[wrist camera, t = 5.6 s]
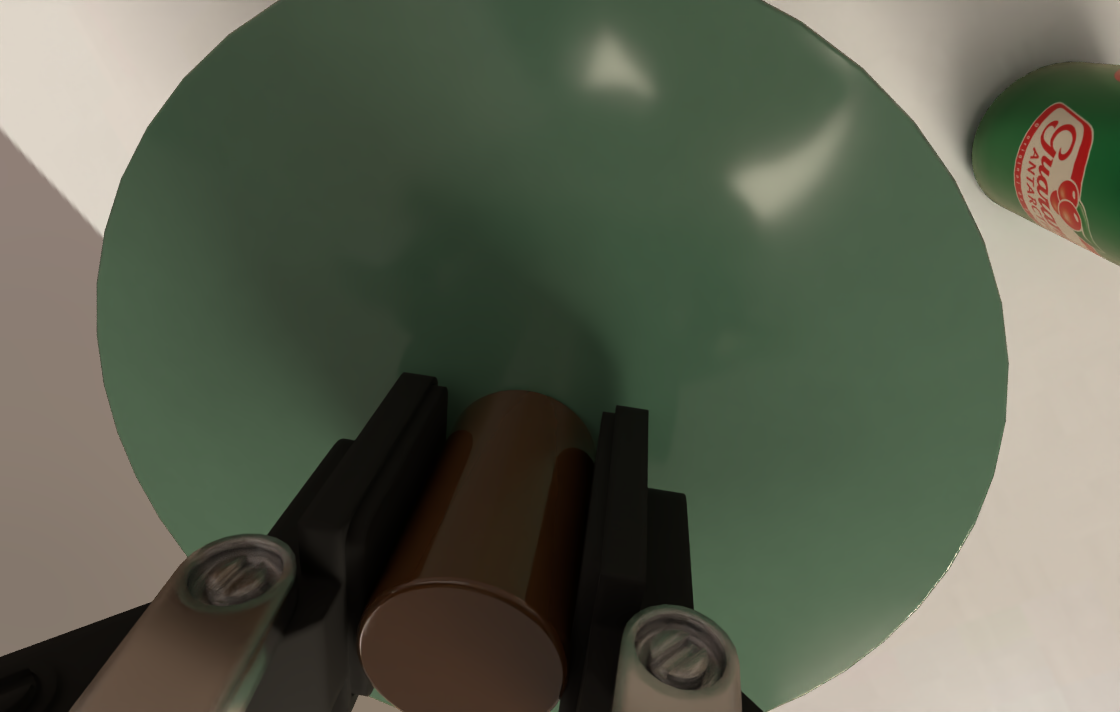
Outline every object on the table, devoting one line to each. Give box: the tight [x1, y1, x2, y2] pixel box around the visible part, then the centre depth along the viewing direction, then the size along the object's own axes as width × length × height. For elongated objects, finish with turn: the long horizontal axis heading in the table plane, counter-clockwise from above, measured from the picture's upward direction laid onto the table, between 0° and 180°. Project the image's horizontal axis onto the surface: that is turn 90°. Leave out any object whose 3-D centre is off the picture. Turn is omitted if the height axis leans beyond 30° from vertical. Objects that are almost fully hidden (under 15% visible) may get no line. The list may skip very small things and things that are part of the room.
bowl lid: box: [97, 0, 1009, 712], centre depth 11 cm, size 16×16×6 cm
